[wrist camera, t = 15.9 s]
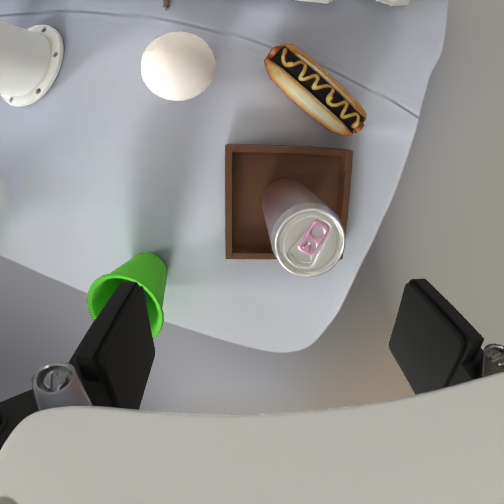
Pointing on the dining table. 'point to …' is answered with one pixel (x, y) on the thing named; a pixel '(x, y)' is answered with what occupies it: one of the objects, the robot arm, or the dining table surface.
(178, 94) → the egg
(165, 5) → the mace
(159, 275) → the cup
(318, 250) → the beverage can
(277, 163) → the tray
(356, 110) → the hot dog
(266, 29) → the dining table surface
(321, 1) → the faceted bottle
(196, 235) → the dining table surface
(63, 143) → the dining table surface
